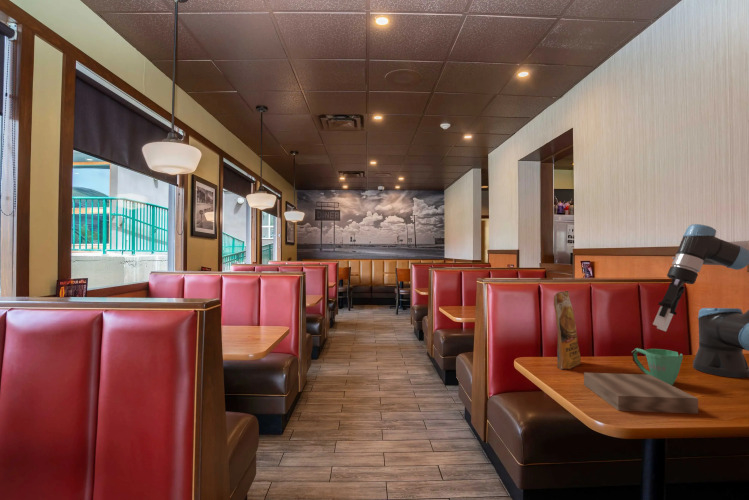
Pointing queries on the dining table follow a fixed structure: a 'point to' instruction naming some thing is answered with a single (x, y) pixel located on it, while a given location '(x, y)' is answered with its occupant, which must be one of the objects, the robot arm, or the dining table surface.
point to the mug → (660, 363)
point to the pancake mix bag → (566, 332)
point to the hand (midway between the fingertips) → (659, 328)
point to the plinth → (640, 393)
